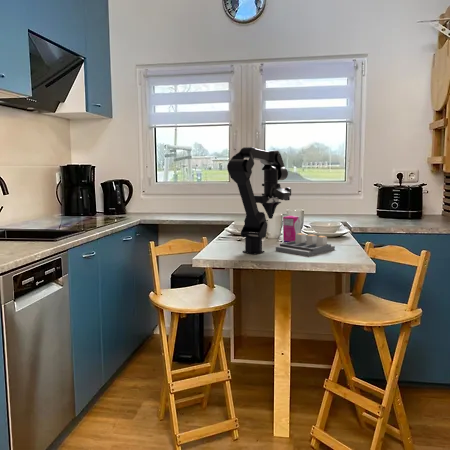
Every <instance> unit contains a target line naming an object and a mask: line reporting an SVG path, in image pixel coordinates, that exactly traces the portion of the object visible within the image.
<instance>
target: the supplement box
mask: <svg viewBox="0 0 450 450" xmlns="http://www.w3.org/2000/svg"><path fill="white" fill-rule="evenodd" d="M282 220H283V221H282V226H283V227H282V231H283V232H282V233H283V235H282V236H283V237H282V238H283V243H287V242H291V241H295V236H296V234H298V233H301V216H300V215H287V216H283V217H282Z"/></svg>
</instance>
